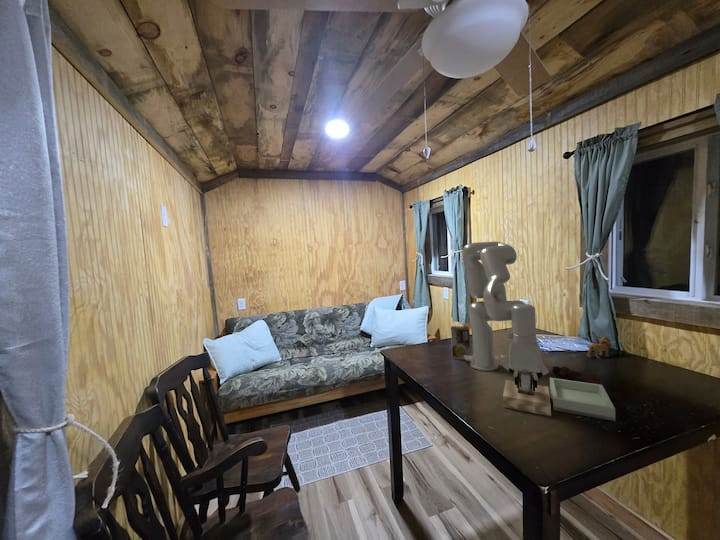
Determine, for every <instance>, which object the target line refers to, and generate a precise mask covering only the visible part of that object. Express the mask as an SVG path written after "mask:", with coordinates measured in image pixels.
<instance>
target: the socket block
mask: <svg viewBox="0 0 720 540" xmlns="http://www.w3.org/2000/svg"><path fill="white" fill-rule="evenodd" d="M504 382H505V383H504V388H503V393H502V401H503V402H502V403H503V408H506V409H511V410H517V411H522V412H528V413H533V414H537V415H543V416H547V417H552V410H551V409H552V407H551V406H552V404H551V399H550V391H549V390H550V389H549V386H547V385H546V386H545V385H540V384H537V388H535V391H533V383H532V392H533V396H532V395H526V394H521V393H520V384H519V388H517V385H515V380H514V381H513V380H507V379H505V381H504Z"/></svg>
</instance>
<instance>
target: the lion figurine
mask: <svg viewBox="0 0 720 540" xmlns="http://www.w3.org/2000/svg"><path fill="white" fill-rule="evenodd" d="M611 345H612V344H611V339H610V338H609V337H608V336H602V337H600V339H599V343H591V344H590V345H589V347H588V348H589V349H588V351H587V353H586V354H587V355H586V357H588V358H589V359H591V358H592V352H594V353H595V354H594V356H595V357H596V359H601V356H603V351H605V357H610V355H609V351H610V349H611ZM599 355H600V356H599Z"/></svg>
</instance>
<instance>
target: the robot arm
mask: <svg viewBox="0 0 720 540" xmlns="http://www.w3.org/2000/svg"><path fill="white" fill-rule="evenodd" d="M461 255H462V261H463V263H464V266H465V269H466V271H467V279H468V288H469V294H470V296H471V298H472V299H483V300H482V301H481V300H480V301H473V302H472V303H470V304H469V306H468V315H469V320H470V327H471V344H472V345H471V346H472V354H470V355H471V356H468V355H464V359H463V360H465V361H469V366H470V367H471V368H472V369H474V370H478V371H483V372H484V371H485V372H492V371H495V370H497V369H498V368H499V364H498V363H497V362H496V361H495V351H494V350H495V346H494V330H493V328H492V327H491V326H490V324H489V323H488V322H492V321H495V322H507V321H511V333H507V338H508V339H511V340H510V341H509V346H508V359H507V360H506V361H505V362H504V363H503V365H502V366H503V368H504V369H506V370H507V371H508V372H509V373H510V374H511V375H512V376H513V377H514V378H513V379H514V381H515V385H517V388H519V371H522V370H529V372H532V384H533V391H535V388H537V385H538V380H539V379H540V378H542V377H543V376H546V375H547V374H549V372H550V371H549V369H548V368H547V366H546V365H545V364H544V363H543V362H542V352H541V347H540V343H539V342H538V341H537V327H536V326H537V325H536V324H537V323H536V319H537V318H536V308H535V306H533V305H532V304H530V303H529V304H528V303H525V302H524V301H523V300H507V299H508V298H507V292H506V286H505V284H506V283H507V282H509V280H510V279H511V274H510V272H509V269H508V267H507V265H508V266H509V265H513V264H514V263H516V261H517V252H516V250H515V248H514V247H513V246H511V245H510V244H507V243H504V242H501V241H482V242H480V241H478V242H472V243H467V244H466V245H464V247H463V248H462V253H461ZM480 261H481V262H480Z"/></svg>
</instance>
